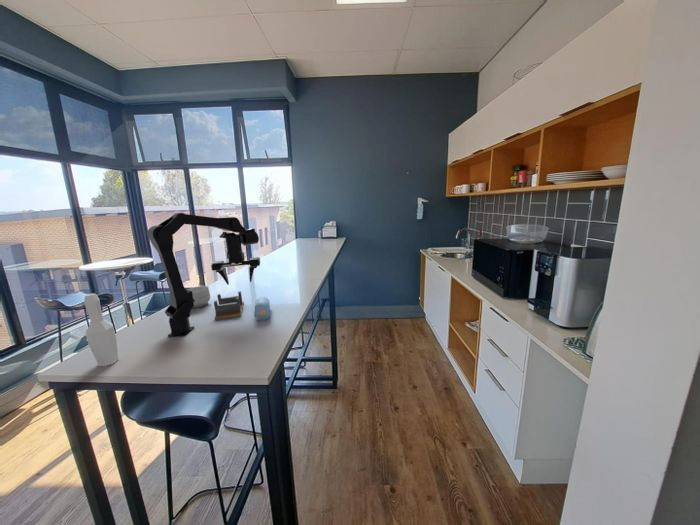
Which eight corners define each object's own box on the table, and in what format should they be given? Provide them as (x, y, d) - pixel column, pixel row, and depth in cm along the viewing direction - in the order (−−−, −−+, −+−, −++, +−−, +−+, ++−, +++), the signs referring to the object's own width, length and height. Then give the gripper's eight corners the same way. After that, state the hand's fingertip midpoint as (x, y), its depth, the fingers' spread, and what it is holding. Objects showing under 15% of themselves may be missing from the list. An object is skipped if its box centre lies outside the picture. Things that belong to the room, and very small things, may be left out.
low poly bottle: (125, 354, 88) (108, 289, 83) (117, 364, 83) (99, 296, 78) (100, 359, 86) (81, 293, 81) (91, 370, 80) (70, 300, 75)
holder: (240, 316, 114) (238, 300, 112) (214, 320, 111) (211, 304, 109) (243, 303, 129) (241, 289, 127) (220, 306, 126) (218, 292, 124)
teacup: (203, 309, 124) (200, 292, 122) (180, 310, 125) (177, 293, 123) (218, 298, 138) (216, 283, 136) (197, 299, 138) (194, 284, 136)
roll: (270, 319, 109) (269, 305, 108) (255, 322, 108) (253, 308, 106) (270, 308, 121) (268, 295, 119) (256, 310, 119) (254, 297, 118)
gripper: (259, 242, 124) (263, 275, 127) (214, 246, 120) (220, 280, 123) (256, 246, 113) (261, 282, 117) (208, 250, 109) (214, 288, 113)
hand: (239, 283), depth 118 cm, fingers open, 9 cm apart
